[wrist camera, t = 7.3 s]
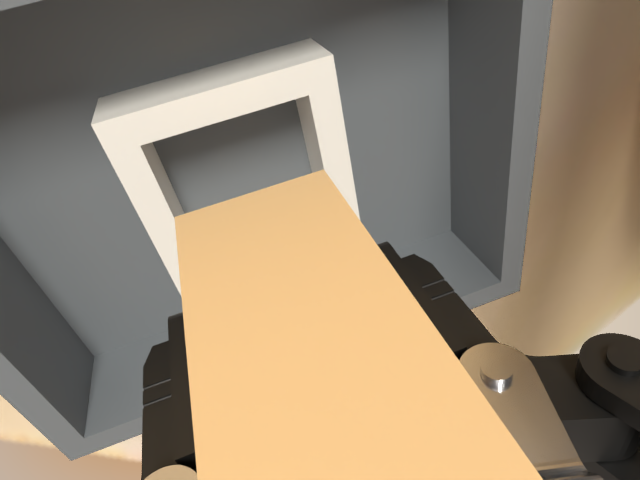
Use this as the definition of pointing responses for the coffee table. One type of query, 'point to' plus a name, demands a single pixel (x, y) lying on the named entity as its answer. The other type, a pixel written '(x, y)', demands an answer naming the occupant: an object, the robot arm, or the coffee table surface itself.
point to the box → (238, 162)
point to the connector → (321, 352)
